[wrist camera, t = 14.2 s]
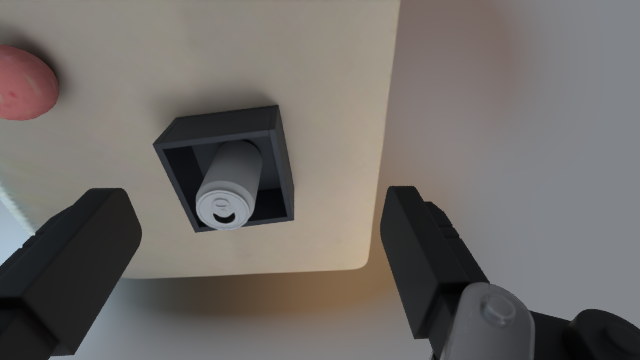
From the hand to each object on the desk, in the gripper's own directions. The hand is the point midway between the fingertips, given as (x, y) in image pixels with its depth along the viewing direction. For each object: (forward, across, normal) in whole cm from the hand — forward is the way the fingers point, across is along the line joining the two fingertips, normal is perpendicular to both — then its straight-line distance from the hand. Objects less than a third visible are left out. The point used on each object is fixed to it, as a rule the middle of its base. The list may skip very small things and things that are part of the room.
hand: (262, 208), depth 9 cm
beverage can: (+30, +7, +15) cm, 34 cm away
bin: (+30, +7, +15) cm, 34 cm away
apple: (+30, +29, +4) cm, 42 cm away
